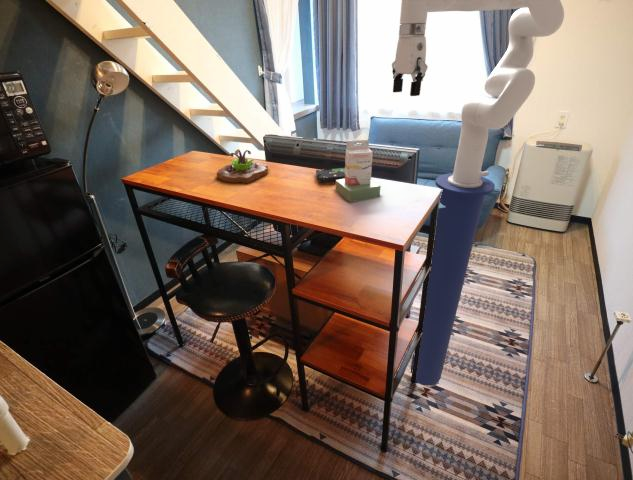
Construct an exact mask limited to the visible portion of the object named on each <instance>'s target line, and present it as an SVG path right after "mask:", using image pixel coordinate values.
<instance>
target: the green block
mask: <svg viewBox="0 0 633 480" xmlns="http://www.w3.org/2000/svg"><path fill="white" fill-rule="evenodd" d="M381 187H382V186H381V185H380V184H378V183H377V182H375V181H374V180H372V179H371V184H364V185H350V186H348V185H347V183H346V182H345V179H339V180H336V183H335V191H336V192H337V193H338V194H339V195H341V196H342V197H343V198H344V199H345V200H347V201H348V202H349V203H352V202H358V201H362V200H368V199H374V198H379V197H380V196H381Z"/></svg>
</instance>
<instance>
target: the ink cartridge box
mask: <svg viewBox="0 0 633 480" xmlns="http://www.w3.org/2000/svg"><path fill="white" fill-rule="evenodd" d="M358 144H359V145H358ZM369 147H370V140H369V139H357V140H347V141H346V146H345V148H346V149H345V156H344V157H345V159H344V160H345V161H344V168H345V182H346V183H347V185H348V186H350V185H364V184H371V180H372V169H373V156H374V155H373V153H374V151H372V150H371V149H370V148H369Z"/></svg>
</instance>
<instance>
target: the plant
mask: <svg viewBox="0 0 633 480" xmlns="http://www.w3.org/2000/svg"><path fill="white" fill-rule="evenodd" d="M246 153H247V154H248V155H251V154H252V152H251V151H250V150H248V149H246V150H245V151H244V152H243V154H242V152H241V150H240V149H235V151H234V152H231V153H230V154H229V156H230V157H234V156H236V158H235V159H230V160H229V161H230V162H231V163H230V164H227V165H224V166H223V167H222V168H220V169H218V170H217V172H216V177H217V179H220V180H221V181H222V182H226V183H232V184H237V183H242V184H249V183H252V182H254V181H256V180H258V179H260V178H261V177H265V176H266V175H267V174H268V172H269V171H268V170H269V169H268V168H269V167H268V165H267V164H266V163H260V162H257V161H254V159H251V160H249V158H248V157H246Z"/></svg>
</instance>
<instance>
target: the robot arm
mask: <svg viewBox="0 0 633 480" xmlns="http://www.w3.org/2000/svg"><path fill="white" fill-rule="evenodd" d="M400 4H401V5H400V16H399V29H398V39H397V45H396V50H395V58H394V61H393V62H392V63H391V68H392V71H391V72H392V79H393V85H392V93H402V92H403V84H404V78H403V76H404V75H410V76H411V80H412V81H411V82H410V92H409V96H410V97H418V96H420V94H421V88H422V82H423V81H424V78H425V76H426V73H427V71H428V68H429V67H428V65H427V63H426V58H427V37H426V29H427V19H428V13H436V12H438V13H440V12H483V11H507V10H515V11H514V12H513V13H512V14H511V16H510V19H509V22H508V45H507V49H506V51H505V53H504V54H503V56H502V57H501V58H500V60H499V62H498V63H497V64H496V66H495V67H494V69H493V70H492V72H491V73H490V74H489V75H488V77H487V78H486V79H485V82H484V91H485V93H486V94H487V95H490V96H486V95H474V96H471V97H469V98H468V99H467V100H466V101H465V102H464V104H463V106H462V109H461V114H460V115H461V116H460V117H461V120H460V121H461V123H460V125H461V128H460V135H459V140H458V147H457V151H456V158H455V162H454V167H453V172H452V173H453V175H452V176H450V177H449V178H448V182H449V183H450V184H451V185H454V186H457V187H461V188H477V187H480V186H481V185H482V180H481V177H487V176H489V175H490V172H489V170H484V171H482V167H483V163H484V159H485V154H486V149H487V144H488V141H489V140H488V139H489V130H492V131H496V130H501V129H503V128H505V127H506V126H507V125H508V124H509V123H510V122H511V120H512V119H513V118H514V116H515V115H516V114H517V113H518V111H519V110H520V109H521V107H522V106H523V105H524V104H525V102H526V101H527V99H528V98H529V97H530V95H531V93H532V92H533V90H534V87H535V83H536V76H535V73H534V72H533V71H532V70H531V69H528V68H527V67H528V66H529V64H530V62H531V61H532V59H533V56H534V39H533V38H542V37H550V36H552V35H554V34H555V33H556V32H557V31H559V29H560V28H561V26H563V25H562V24H563V22H564V19H565V10H564V6H563V3H562V1H561V0H401V3H400Z"/></svg>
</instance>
